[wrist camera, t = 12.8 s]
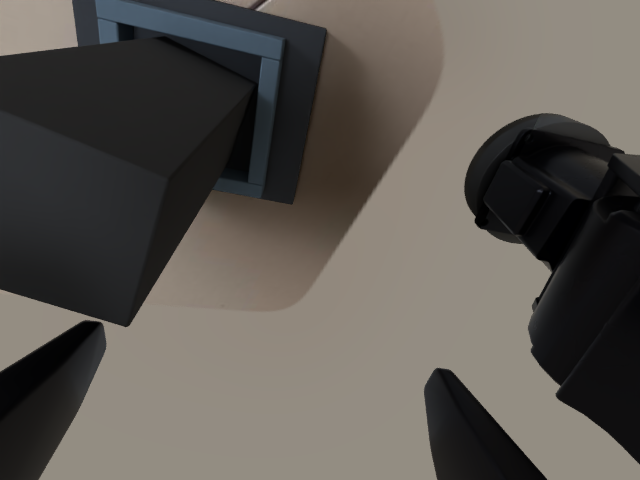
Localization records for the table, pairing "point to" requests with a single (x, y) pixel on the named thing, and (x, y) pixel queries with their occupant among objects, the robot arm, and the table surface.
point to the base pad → (241, 57)
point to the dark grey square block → (108, 166)
